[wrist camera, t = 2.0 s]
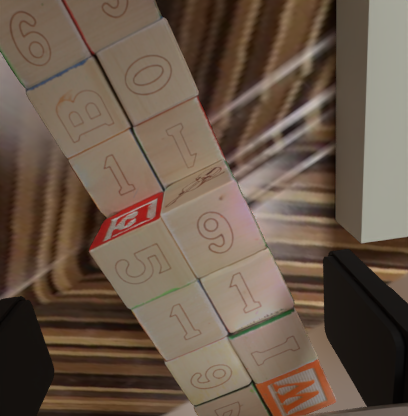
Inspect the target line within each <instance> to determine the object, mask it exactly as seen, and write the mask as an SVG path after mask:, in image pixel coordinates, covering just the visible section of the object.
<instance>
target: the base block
mask: <svg viewBox="0 0 408 416" xmlns="http://www.w3.org/2000/svg"><path fill="white" fill-rule="evenodd" d="M335 220H336V221H337V222H338V223H339V224H340V225H341V226H342V227H343V228H345V229H346V230H347V231H348V232H349V233H350V234H351V235H352V236H353V237H355V238H356V239H357V240H358V241H359V242H360V243H367V242H374V241H381V240H388V239H395V238H402V237H408V0H336V203H335Z"/></svg>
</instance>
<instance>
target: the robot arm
mask: <svg viewBox="0 0 408 416" xmlns="http://www.w3.org/2000/svg"><path fill="white" fill-rule="evenodd" d="M323 275H324V323H325V332H326V335H327V338H328V340H329V342H330V344H331V345H332V347H333V349H334V350H335V352H336V354H337V355H338V357H339V359H340V361H341V362H342V364H343V366H344V368H345V369H346V371H347V373H348V374H349V376H350V378H351V380H352V381H353V383H354V385H355V386H356V388H357V390H358V392H359V393H360V395H361V397H362V399H363V400H364V402H365V404H366V405H367V407H360V408H353V409H346V410H340V411H332V412H324V413H316V414H309V415H302V416H408V303H407V302H406V301H405V300H403V299H402V298H401V297H400V296H399V295H398V294H397V293H396V292H395V291H394V290H393V289H392V288H390V287H389V286H387V285H386V284H385V283H384V282H383V281H382V280H381V279H380V278H379V277H378V276H377V275H376V274H375V273H374V272H373V271H372V270H371V269H369V268H368V267H367V266H366V265H365V264H364V263H363V262H362V261H361V260H360V259H359V258H358V257H357V256H356V255H355V254H354V253H353V252H352V251H351V250H349V249H344V250H337V251H330V252H329V255H328V257H324V259H323ZM53 377H54V366H53V363H52V360H51V358H50V355H49V352H48V349H47V346H46V343H45V340H44V338H43V335H42V332H41V329H40V326H39V323H38V321H37V318H36V315H35V312H34V309H33V306H32V304H31V302H30V301H29V300H25V298H24V297H22V296H20V297H13V298H6V299H1V300H0V416H36V415H37V413H38V411H39V408H40V406H41V404H42V402H43V400H44V398H45V395H46V393H47V391H48V389H49V387H50V385H51V383H52V380H53Z"/></svg>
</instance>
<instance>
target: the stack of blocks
mask: <svg viewBox="0 0 408 416" xmlns="http://www.w3.org/2000/svg"><path fill="white" fill-rule="evenodd" d="M0 52H1V53H2V55H3V56H4V58H5V60H6V61H7V63H8V65H9V66H10V68H11V69H12V71H13V73H14V74H15V75H16V77H17V78H18V80H19V81H20V83H21V84H22V85H23V86H24V87H25V88H26V95H27V96H28V98H29V100H30V102H31V103H32V105H33V106H34V108H35V109H36V111H37V113H38V114H39V116H40V117H41V119H42V121H43V122H44V124H45V125H46V127H47V128H48V130H49V132H50V133H51V135H52V136H53V138H54V139H55V141H56V142H57V144H58V146H59V147H60V149H61V151H62V152H63V154H64V155H65V156H66V157H67V158H68V161H69V163H70V165H71V167H72V169H73V170H74V172H75V174H76V175H77V177H78V178H79V180H80V182H81V183H82V185H83V186H84V188H85V189H86V191H87V192H88V194H89V195H90V197H91V198H92V200H93V201H94V203H95V204H96V206H97V207H98V209H99V210H100V211H101V212H102V214H103V215H104V216H105V217H107V219H106V220H105V221H104V222H103V224H102V225H101V227H100V230H99V232H98V233H97V235H96V237H95V239H94V241H93V242H92V244H91V246H90V249H89V253H90V254H91V256H92V257H93V259H94V260H95V262H96V263H97V265H98V266H99V267H100V269H101V270H102V272H103V273H104V275H105V276H106V278H107V279H108V280H109V281H110V283H111V284H112V286H113V288H114V289H115V291H116V292H117V294H118V295H119V297H120V298H121V299H122V301H123V302H124V304H125V305H126V307H127V308H129V309H131V311H132V312H133V314H134V316H135V317H136V319H137V320H138V322H139V324H140V325H141V327H142V328H143V329H144V331H145V332H146V334H147V335H148V337H149V338H150V339H151V341H152V342H153V344H154V346H155V347H156V349H157V350H158V352H159V353H160V354H161V356H162V357H163V358H164V363H165V365H166V366H167V368H168V369H169V371H170V372H171V374H172V376H173V377H174V379H175V380H176V382H177V383H178V385H179V386H180V388H181V389H182V390H183V392H184V393H185V395H186V396H187V398H188V399H189V401H190V402H191V404H192V405H194V409H195V412H196V413H197V415H198V416H302V415H306V414H309V413H311V412H314V411H316V410H319V409H321V408H324V407H326V406H329V405H331V404H334V403H335V402H336V401H337V399H336V397H335V395H334V392H333V390H332V388H331V386H330V384H329V382H328V380H327V377H326V375H325V373H324V371H323V368H322V366H321V364H320V362H319V360H318V355H317V353H316V351H315V349H314V347H313V345H312V343H311V341H310V339H309V337H308V335H307V332H306V330H305V328H304V326H303V324H302V322H301V320H300V318H299V316H298V314H297V312H296V310H295V308H294V306H293V305H294V300H293V298H292V295H291V293H290V291H289V289H288V287H287V285H286V283H285V281H284V278H283V276H282V274H281V272H280V270H279V268H278V266H277V264H276V262H275V260H274V258H273V255H272V254H271V252H270V250H269V248H268V246H267V244H266V242H265V240H264V237H263V235H262V233H261V231H260V228H259V226H258V224H257V222H256V220H255V218H254V216H253V214H252V212H251V210H250V208H249V206H248V204H247V202H246V200H245V198H244V196H243V194H242V192H241V190H240V188H239V185H238V183H237V181H236V179H235V178H234V176H233V174H232V172H231V170H230V168H229V165H228V163H227V161H226V159H225V156H224V154H223V152H222V150H221V148H220V146H219V143H218V141H217V139H216V136H215V134H214V132H213V130H212V127H211V125H210V123H209V121H208V118H207V116H206V114H205V111H204V109H203V107H202V105H201V103H200V100H199V97H198V94H199V91H198V89H197V87H196V84H195V82H194V80H193V77H192V75H191V73H190V70H189V68H188V66H187V63H186V61H185V59H184V56H183V54H182V52H181V50H180V48H179V45H178V43H177V41H176V39H175V36H174V34H173V32H172V30H171V27H170V25H169V23H168V21H167V19H166V18H164V17H162V16H161V13H160V11H159V8H158V6H157V4H156V1H155V0H0Z"/></svg>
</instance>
